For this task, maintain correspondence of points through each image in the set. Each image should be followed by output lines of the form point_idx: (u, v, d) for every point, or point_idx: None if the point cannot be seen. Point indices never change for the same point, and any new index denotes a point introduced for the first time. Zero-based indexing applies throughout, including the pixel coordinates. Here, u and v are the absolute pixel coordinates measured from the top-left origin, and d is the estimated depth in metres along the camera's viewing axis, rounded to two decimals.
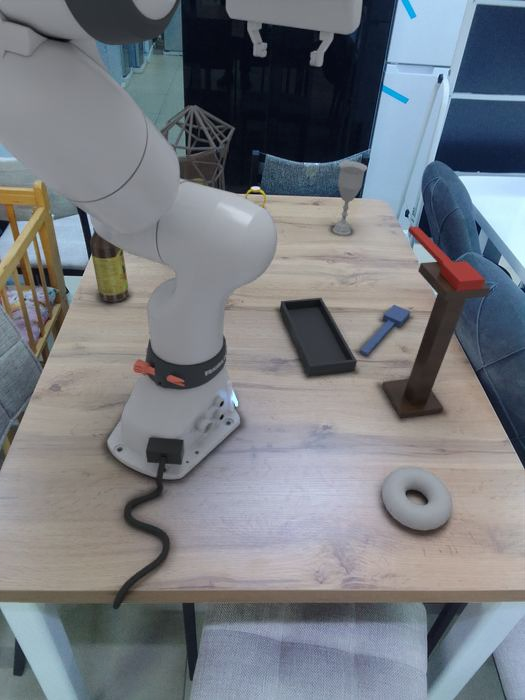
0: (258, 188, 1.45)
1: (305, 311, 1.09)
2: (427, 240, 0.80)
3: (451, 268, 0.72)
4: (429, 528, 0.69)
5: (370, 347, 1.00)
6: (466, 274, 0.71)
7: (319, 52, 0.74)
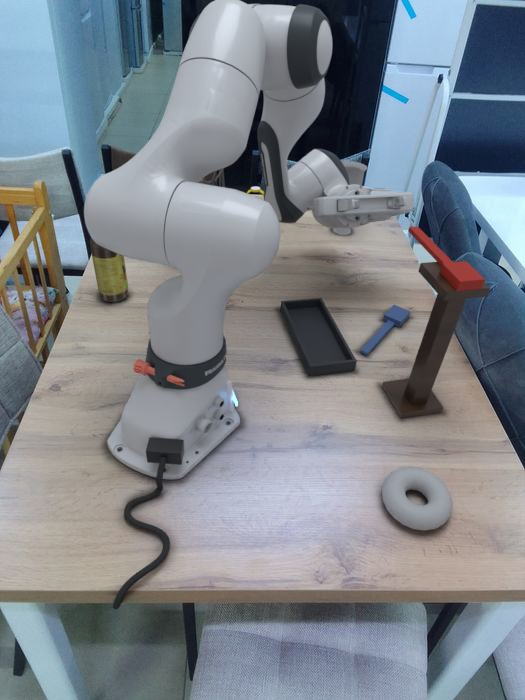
0: (258, 188, 1.45)
1: (305, 311, 1.09)
2: (427, 240, 0.80)
3: (451, 268, 0.72)
4: (429, 528, 0.69)
5: (370, 347, 1.00)
6: (466, 274, 0.71)
7: None
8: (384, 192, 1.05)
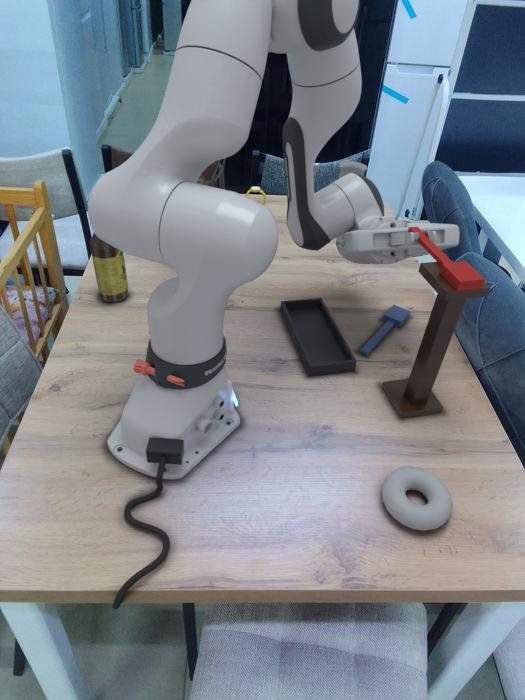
0: (258, 188, 1.45)
1: (305, 311, 1.09)
2: (427, 240, 0.80)
3: (451, 268, 0.72)
4: (429, 528, 0.69)
5: (370, 347, 1.00)
6: (466, 274, 0.71)
7: None
8: (423, 224, 0.92)
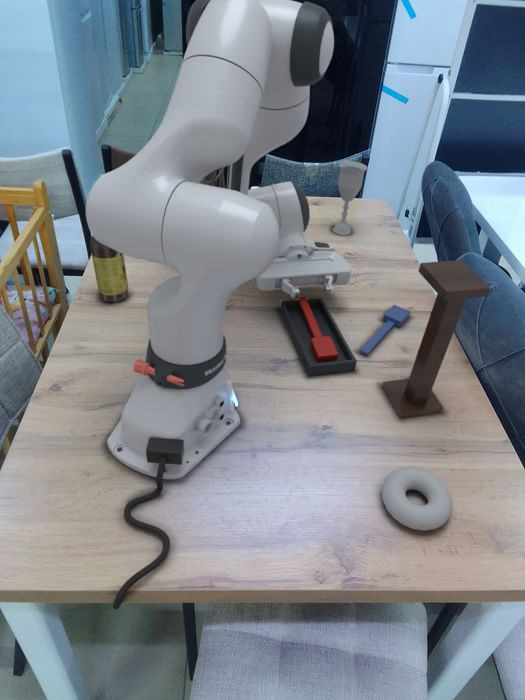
0: None
1: None
2: (308, 312, 1.05)
3: (316, 343, 0.98)
4: (429, 528, 0.69)
5: (370, 347, 1.00)
6: (326, 349, 0.97)
7: (330, 283, 1.02)
8: (326, 254, 1.08)
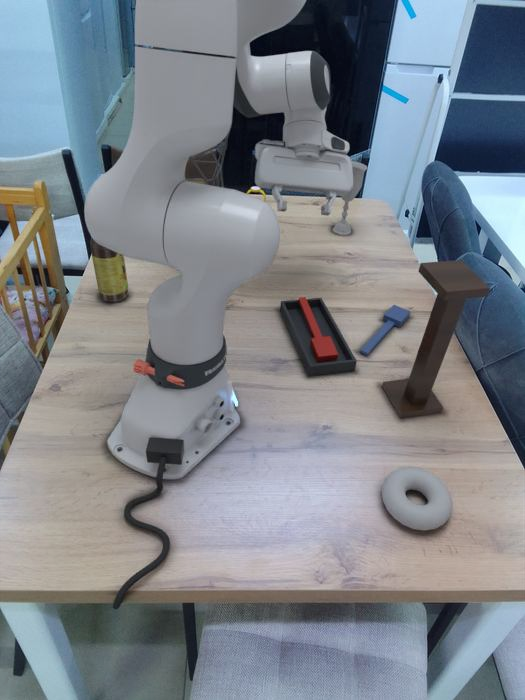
0: (258, 188, 1.45)
1: None
2: (308, 312, 1.05)
3: (316, 343, 0.98)
4: (429, 528, 0.69)
5: (370, 347, 1.00)
6: (326, 349, 0.97)
7: (330, 204, 1.03)
8: (337, 158, 1.01)
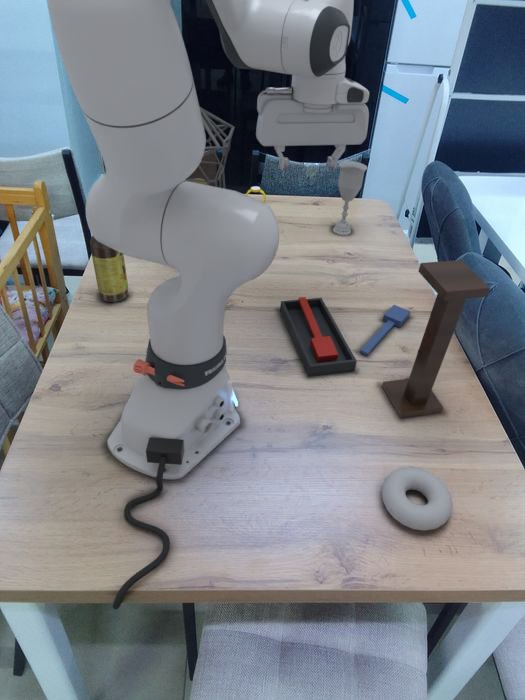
0: (258, 188, 1.45)
1: None
2: (308, 312, 1.05)
3: (316, 343, 0.98)
4: (429, 528, 0.69)
5: (370, 347, 1.00)
6: (326, 349, 0.97)
7: (337, 158, 0.95)
8: (353, 109, 0.88)
